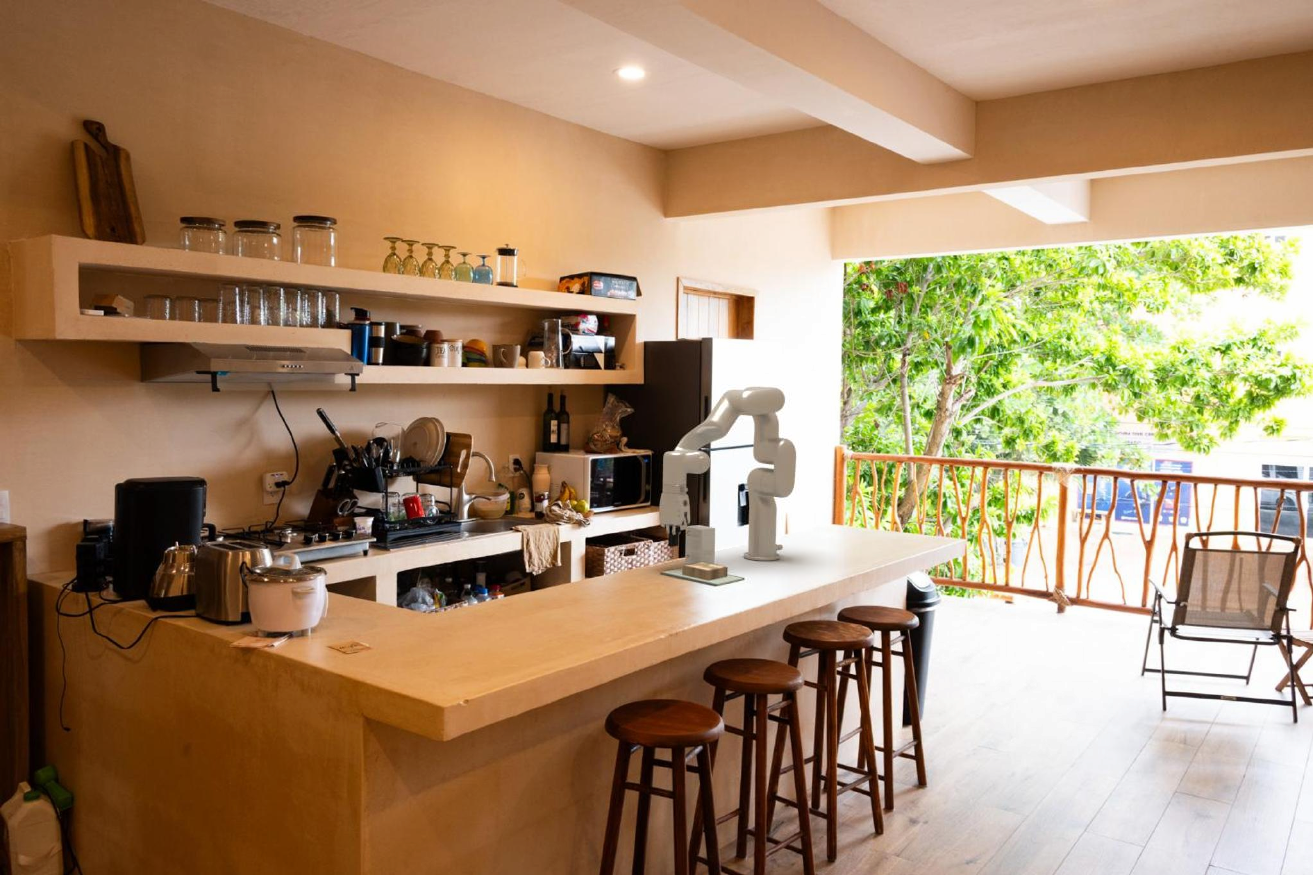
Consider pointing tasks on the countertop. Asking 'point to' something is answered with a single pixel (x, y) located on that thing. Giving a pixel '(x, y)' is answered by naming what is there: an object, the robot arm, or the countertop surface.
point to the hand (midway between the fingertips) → (673, 545)
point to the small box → (700, 544)
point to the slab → (704, 571)
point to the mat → (715, 582)
